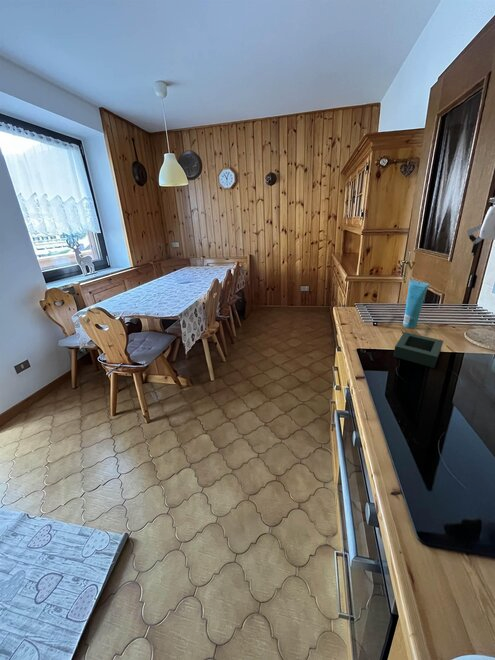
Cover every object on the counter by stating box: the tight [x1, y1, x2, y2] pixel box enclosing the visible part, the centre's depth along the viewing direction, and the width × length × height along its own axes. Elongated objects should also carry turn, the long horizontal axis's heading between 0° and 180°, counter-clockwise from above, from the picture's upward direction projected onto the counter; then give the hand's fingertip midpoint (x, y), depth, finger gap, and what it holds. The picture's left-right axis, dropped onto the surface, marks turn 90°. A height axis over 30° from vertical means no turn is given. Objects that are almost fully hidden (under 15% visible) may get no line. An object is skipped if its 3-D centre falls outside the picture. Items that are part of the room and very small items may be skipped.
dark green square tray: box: [392, 331, 444, 369], centre depth 98 cm, size 12×12×5 cm
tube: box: [402, 279, 430, 329], centre depth 113 cm, size 7×5×19 cm, turn 39°
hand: (491, 256), depth 96 cm, fingers open, 9 cm apart
